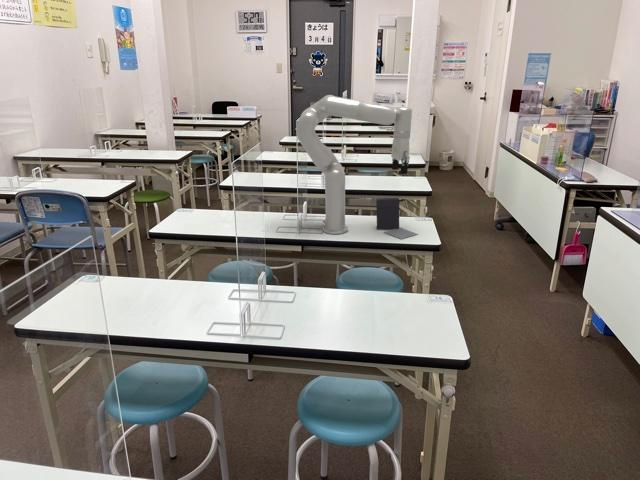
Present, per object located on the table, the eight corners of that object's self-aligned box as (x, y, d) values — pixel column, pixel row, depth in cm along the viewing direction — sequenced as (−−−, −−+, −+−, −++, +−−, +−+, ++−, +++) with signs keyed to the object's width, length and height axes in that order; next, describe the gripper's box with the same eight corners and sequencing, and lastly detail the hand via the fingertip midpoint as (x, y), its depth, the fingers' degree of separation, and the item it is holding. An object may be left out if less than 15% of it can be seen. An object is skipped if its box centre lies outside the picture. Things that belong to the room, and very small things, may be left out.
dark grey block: (398, 226, 237) (398, 197, 233) (399, 229, 233) (399, 199, 229) (376, 227, 239) (376, 197, 234) (376, 229, 235) (376, 199, 230)
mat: (383, 232, 230) (383, 232, 230) (400, 228, 236) (400, 227, 236) (401, 239, 221) (401, 238, 221) (417, 234, 227) (417, 233, 227)
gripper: (387, 132, 226) (384, 168, 232) (402, 137, 210) (399, 176, 216) (401, 132, 227) (399, 167, 233) (417, 137, 212) (414, 175, 218)
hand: (399, 171), depth 225 cm, fingers open, 9 cm apart
